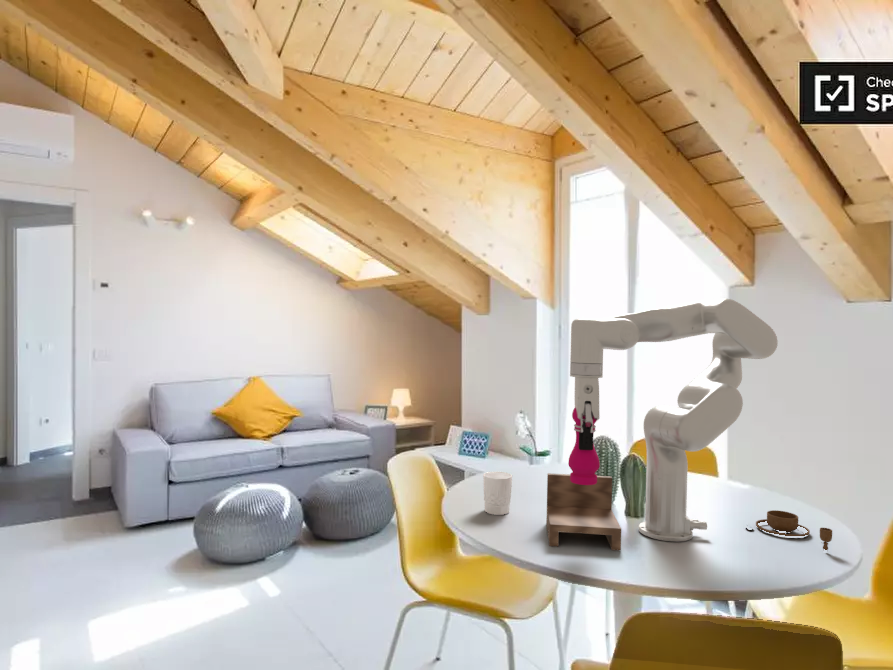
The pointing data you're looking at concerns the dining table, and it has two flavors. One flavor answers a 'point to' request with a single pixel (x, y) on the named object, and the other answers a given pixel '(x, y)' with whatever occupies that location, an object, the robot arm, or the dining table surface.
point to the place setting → (791, 525)
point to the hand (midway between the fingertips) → (584, 446)
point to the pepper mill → (583, 458)
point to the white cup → (497, 492)
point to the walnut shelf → (581, 509)
